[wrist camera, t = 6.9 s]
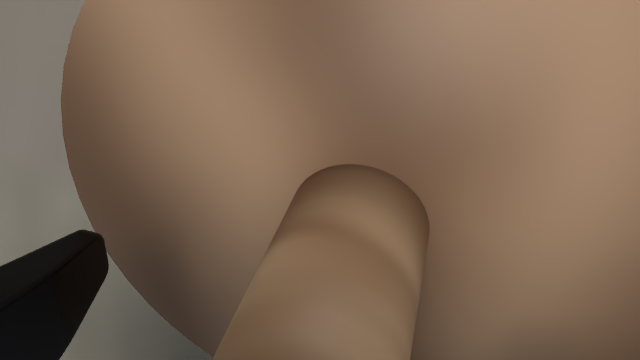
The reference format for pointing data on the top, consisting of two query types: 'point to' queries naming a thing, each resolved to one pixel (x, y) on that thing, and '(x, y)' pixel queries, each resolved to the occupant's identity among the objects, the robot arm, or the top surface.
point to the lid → (367, 173)
